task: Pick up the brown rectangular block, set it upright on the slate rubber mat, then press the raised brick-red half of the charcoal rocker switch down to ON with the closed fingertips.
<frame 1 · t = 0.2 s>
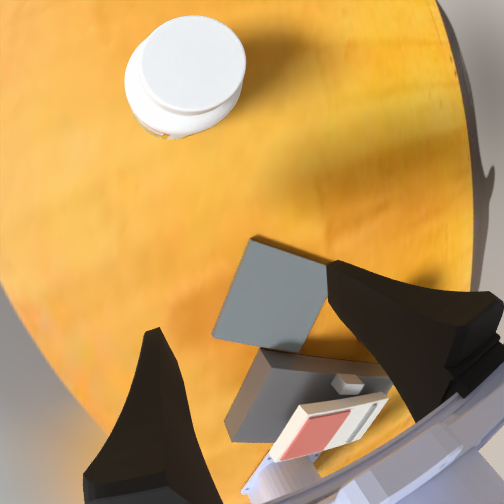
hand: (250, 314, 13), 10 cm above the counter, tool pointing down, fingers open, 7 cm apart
rocker: (335, 426, 26), point 5 cm above the counter, hinge at 10.0°
supplement bottle: (172, 100, 19), on the counter
mat: (275, 300, 25), on the counter
switch housing: (310, 393, 30), on the counter
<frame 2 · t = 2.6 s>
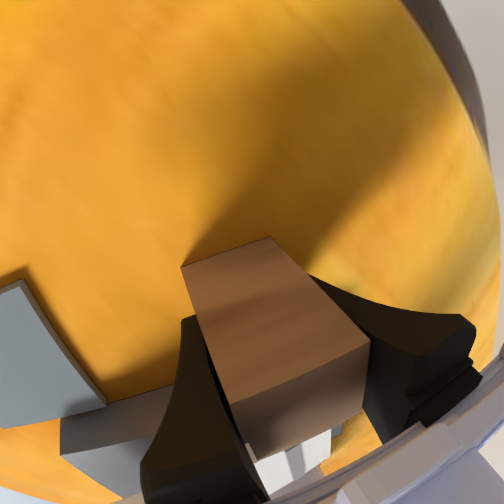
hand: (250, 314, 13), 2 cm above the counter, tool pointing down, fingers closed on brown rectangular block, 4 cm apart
rocker: (235, 487, 14), point 5 cm above the counter, hinge at 10.0°
brown rectangular block: (236, 289, 14), on the counter, touching gripper
mat: (7, 366, 12), on the counter
switch housing: (208, 420, 18), on the counter
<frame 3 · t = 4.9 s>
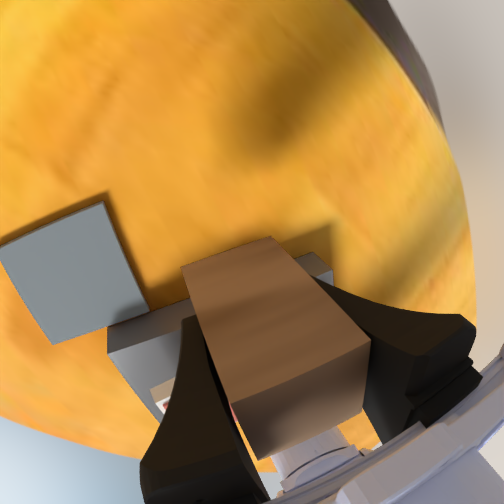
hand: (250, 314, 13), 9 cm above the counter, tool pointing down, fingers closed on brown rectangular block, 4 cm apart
rocker: (250, 380, 21), point 5 cm above the counter, hinge at 10.0°
brown rectangular block: (236, 288, 14), point 7 cm above the counter, touching gripper
mat: (72, 278, 18), on the counter
switch housing: (226, 334, 25), on the counter
when the fingers open (4 cm above the counter, at t = 7.4 s): brown rectangular block drops 1 cm, resting on mat.
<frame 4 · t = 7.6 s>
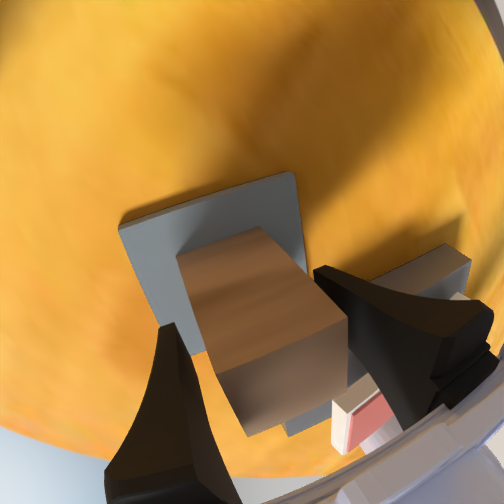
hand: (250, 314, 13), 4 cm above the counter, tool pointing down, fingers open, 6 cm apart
rocker: (408, 374, 18), point 5 cm above the counter, hinge at 10.0°
brown rectangular block: (228, 276, 15), point 1 cm above the counter, touching mat
mat: (225, 271, 16), on the counter
switch housing: (364, 330, 22), on the counter
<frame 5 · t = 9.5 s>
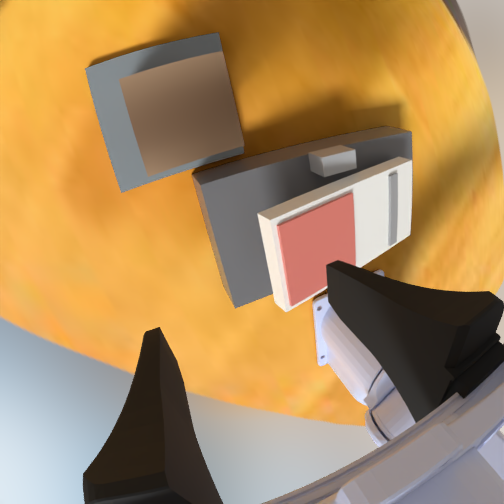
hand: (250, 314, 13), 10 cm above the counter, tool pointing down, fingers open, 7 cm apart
rocker: (352, 226, 20), point 5 cm above the counter, hinge at 10.0°
brown rectangular block: (166, 108, 17), point 1 cm above the counter, touching mat
mat: (165, 108, 17), on the counter
switch housing: (311, 201, 24), on the counter
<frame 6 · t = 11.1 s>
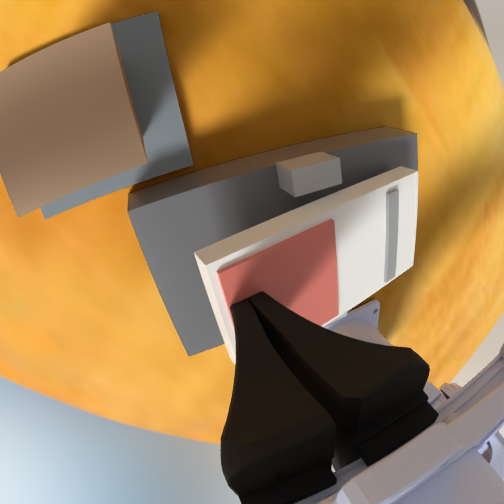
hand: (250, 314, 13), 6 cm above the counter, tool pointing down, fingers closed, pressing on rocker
rocker: (335, 261, 15), point 5 cm above the counter, hinge at 9.5°, touching gripper
brown rectangular block: (91, 112, 12), point 1 cm above the counter, touching mat
mat: (93, 112, 13), on the counter
switch housing: (287, 222, 19), on the counter
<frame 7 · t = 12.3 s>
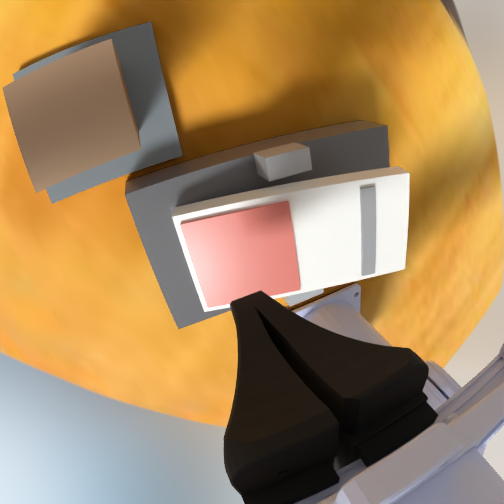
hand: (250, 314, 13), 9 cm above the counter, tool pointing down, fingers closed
rocker: (302, 241, 17), point 5 cm above the counter, hinge at -15.7°, touching switch housing
brown rectangular block: (93, 110, 14), point 1 cm above the counter, touching mat
mat: (95, 110, 15), on the counter
switch housing: (268, 208, 21), on the counter
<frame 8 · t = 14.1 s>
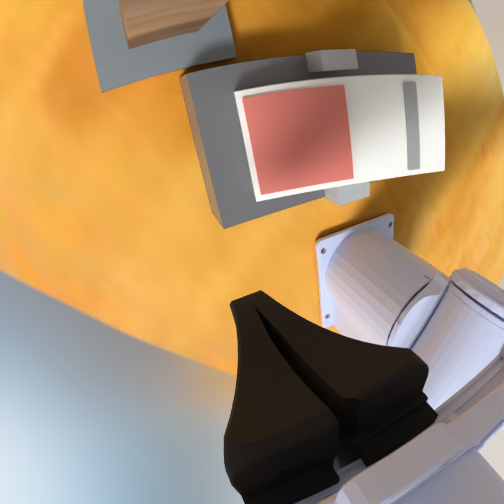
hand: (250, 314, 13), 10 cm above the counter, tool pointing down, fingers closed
rocker: (353, 129, 16), point 5 cm above the counter, hinge at -15.6°, touching switch housing
brown rectangular block: (156, 10, 14), point 1 cm above the counter, touching mat
mat: (156, 13, 14), on the counter
switch housing: (310, 120, 20), on the counter
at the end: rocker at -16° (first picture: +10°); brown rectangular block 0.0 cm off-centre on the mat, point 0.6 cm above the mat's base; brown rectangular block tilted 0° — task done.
